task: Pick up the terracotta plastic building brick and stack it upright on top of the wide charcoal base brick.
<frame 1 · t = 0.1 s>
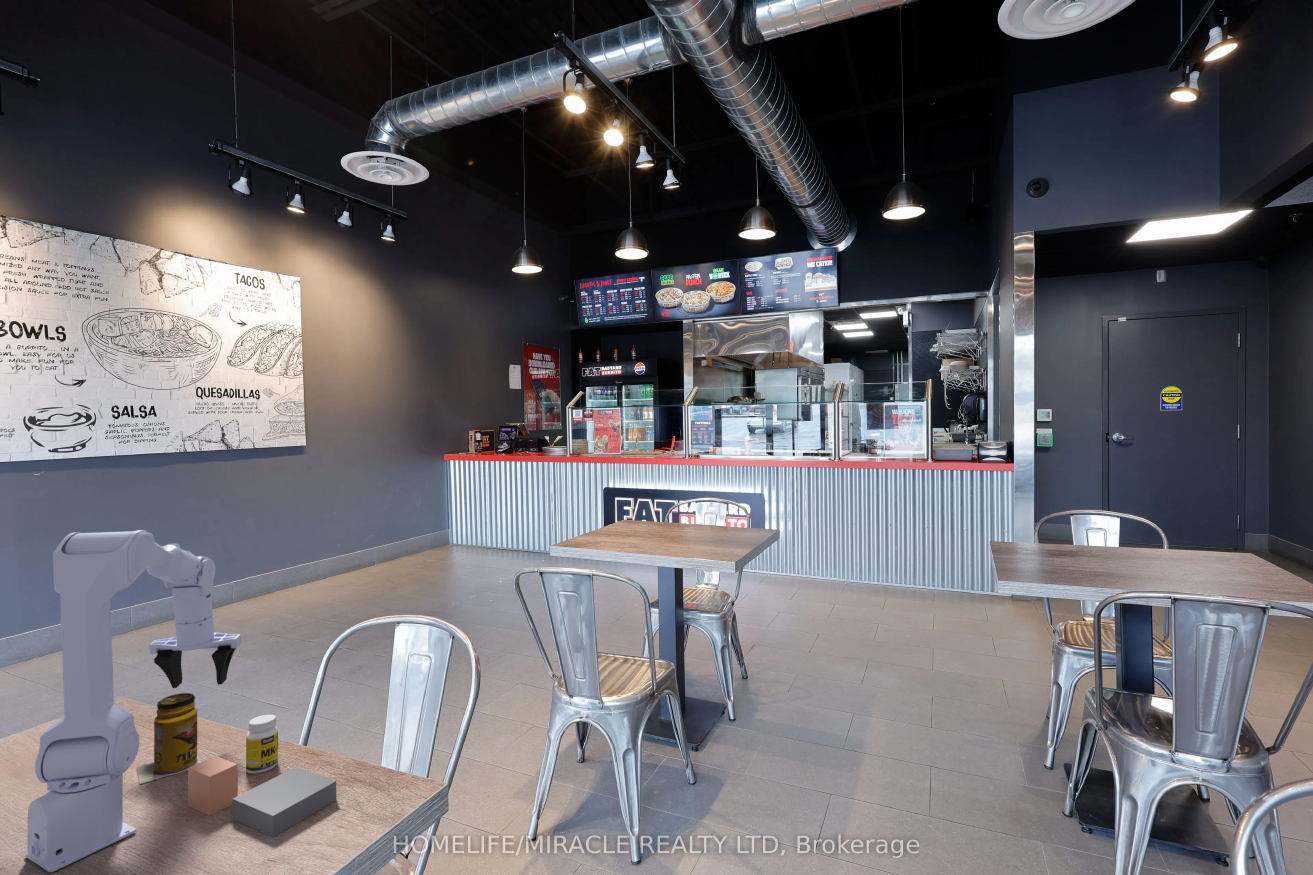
hand: (199, 683, 117), 11 cm above the table, tool pointing down, fingers open, 7 cm apart
supplement bottle: (262, 768, 106), on the table
condiment: (169, 768, 106), on the table
top brick: (212, 803, 95), on the table
base brick: (285, 808, 94), on the table
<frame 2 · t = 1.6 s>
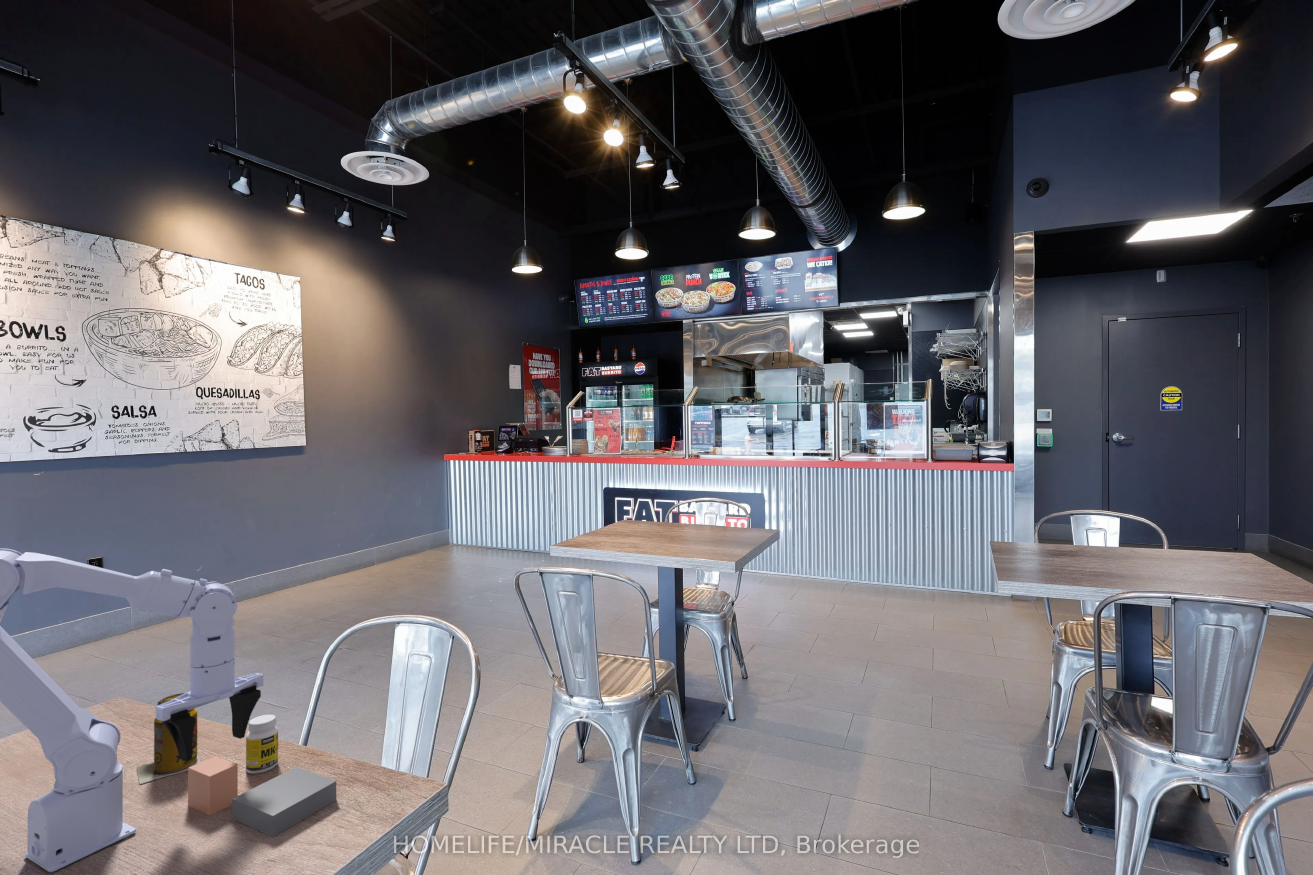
hand: (213, 747, 96), 9 cm above the table, tool pointing down, fingers open, 7 cm apart
nothing on the table moved.
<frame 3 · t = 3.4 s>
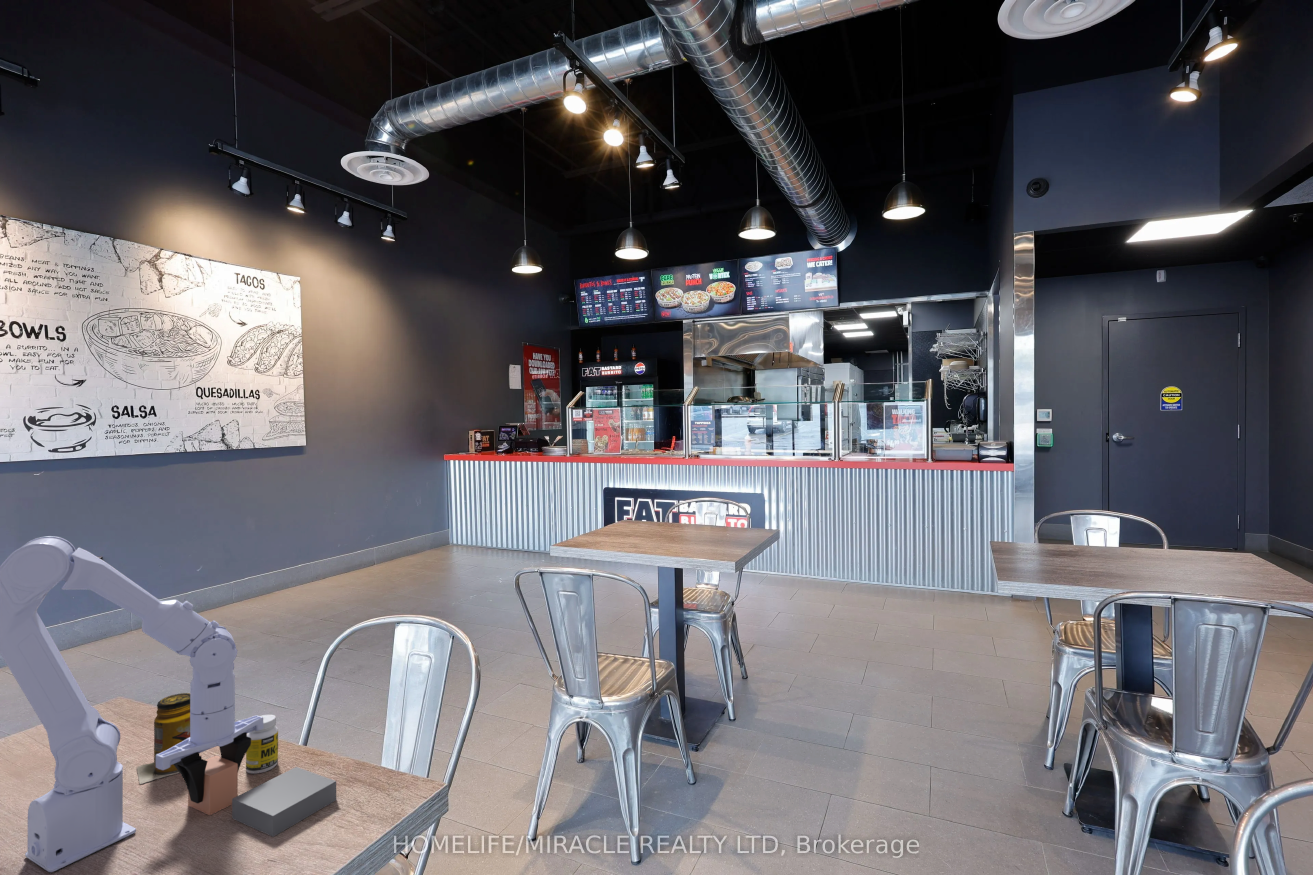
hand: (212, 792, 95), 2 cm above the table, tool pointing down, fingers closed on top brick, 4 cm apart
top brick: (213, 803, 95), on the table, touching gripper
everything else where it was.
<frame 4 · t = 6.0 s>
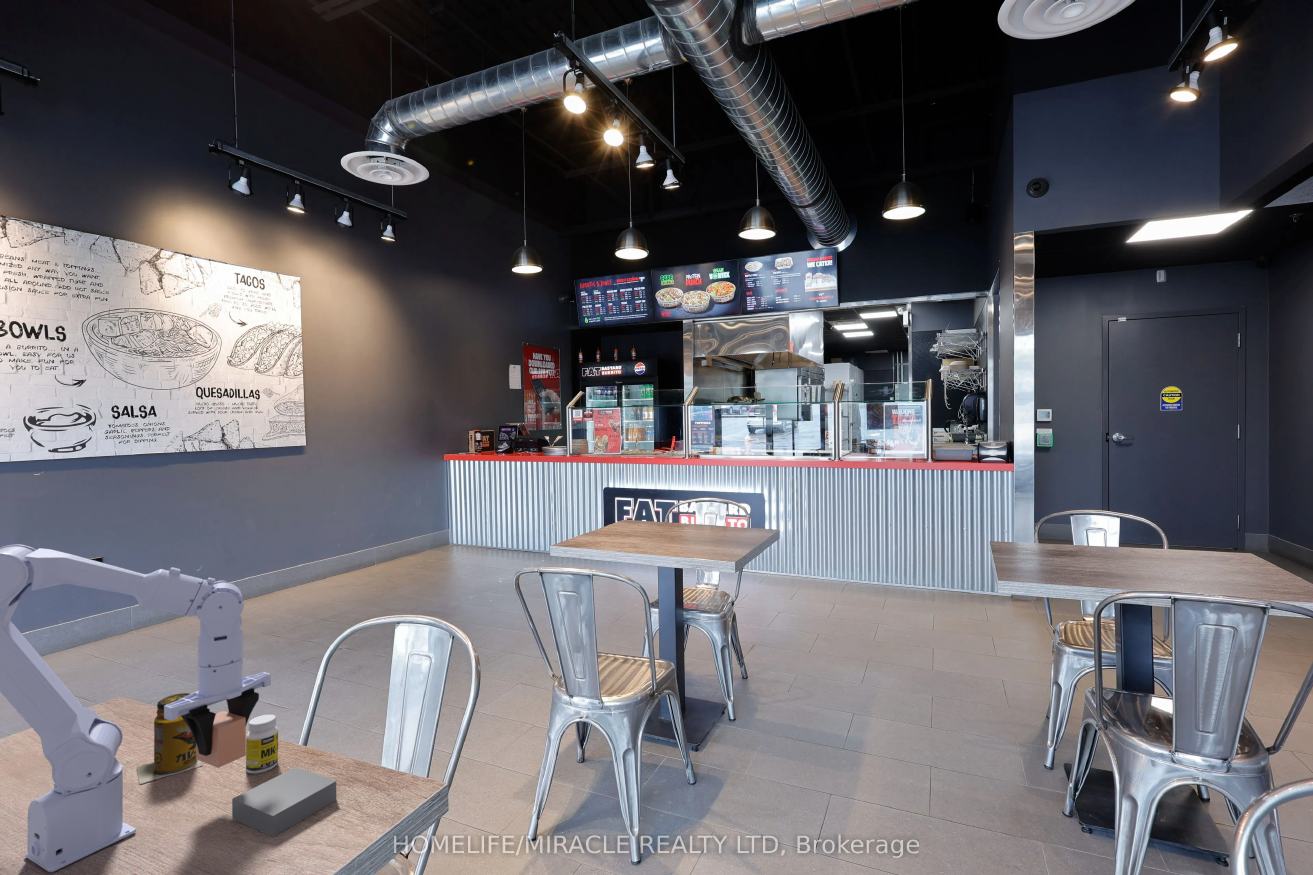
hand: (221, 746, 95), 9 cm above the table, tool pointing down, fingers closed on top brick, 4 cm apart
top brick: (221, 757, 95), point 7 cm above the table, touching gripper
everything else where it was.
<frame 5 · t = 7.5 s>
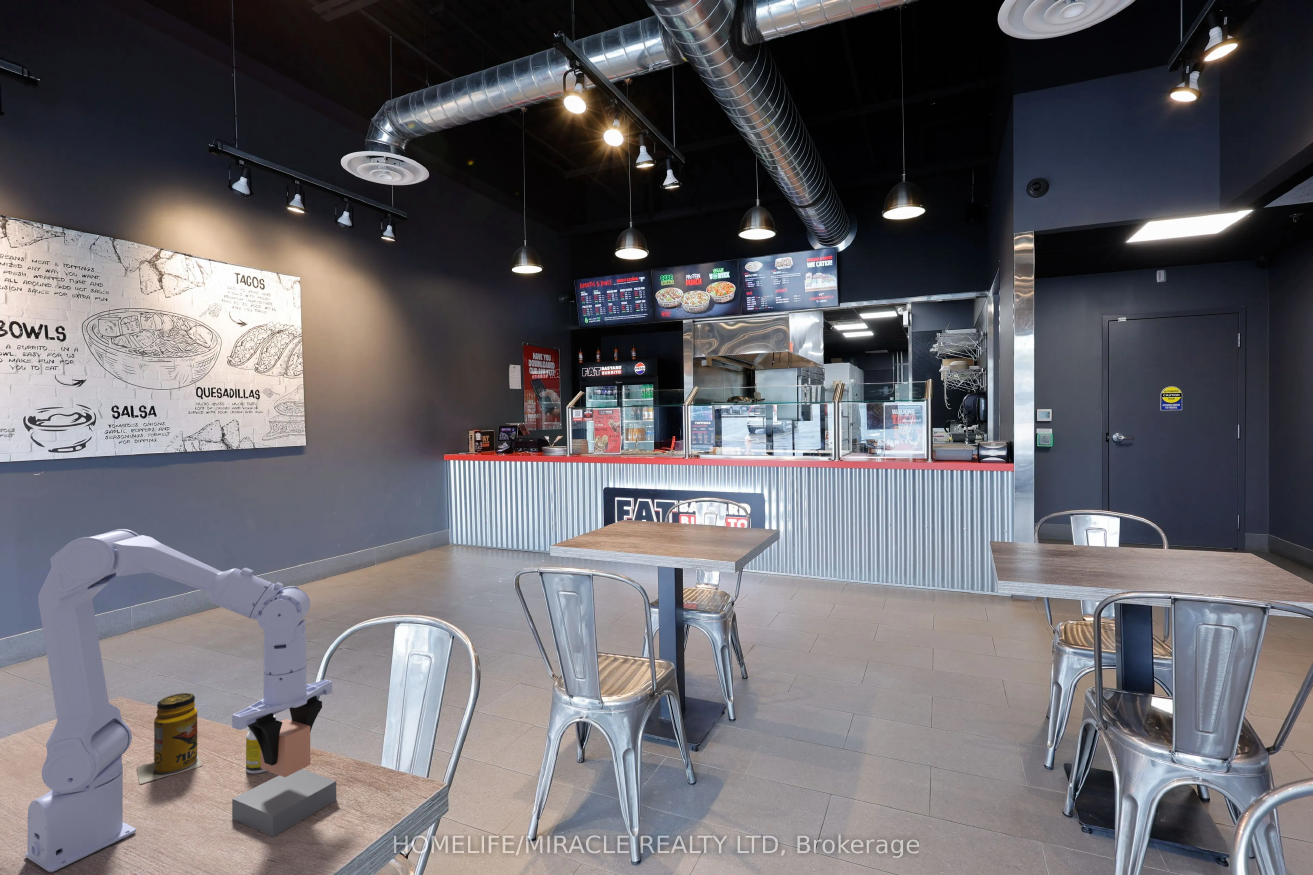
hand: (285, 755, 94), 8 cm above the table, tool pointing down, fingers closed on top brick, 4 cm apart
top brick: (285, 766, 94), point 7 cm above the table, touching gripper
everything else where it was.
when the fingers open (6 cm above the table, at t = 8.8 s): top brick stays where it is, resting on base brick.
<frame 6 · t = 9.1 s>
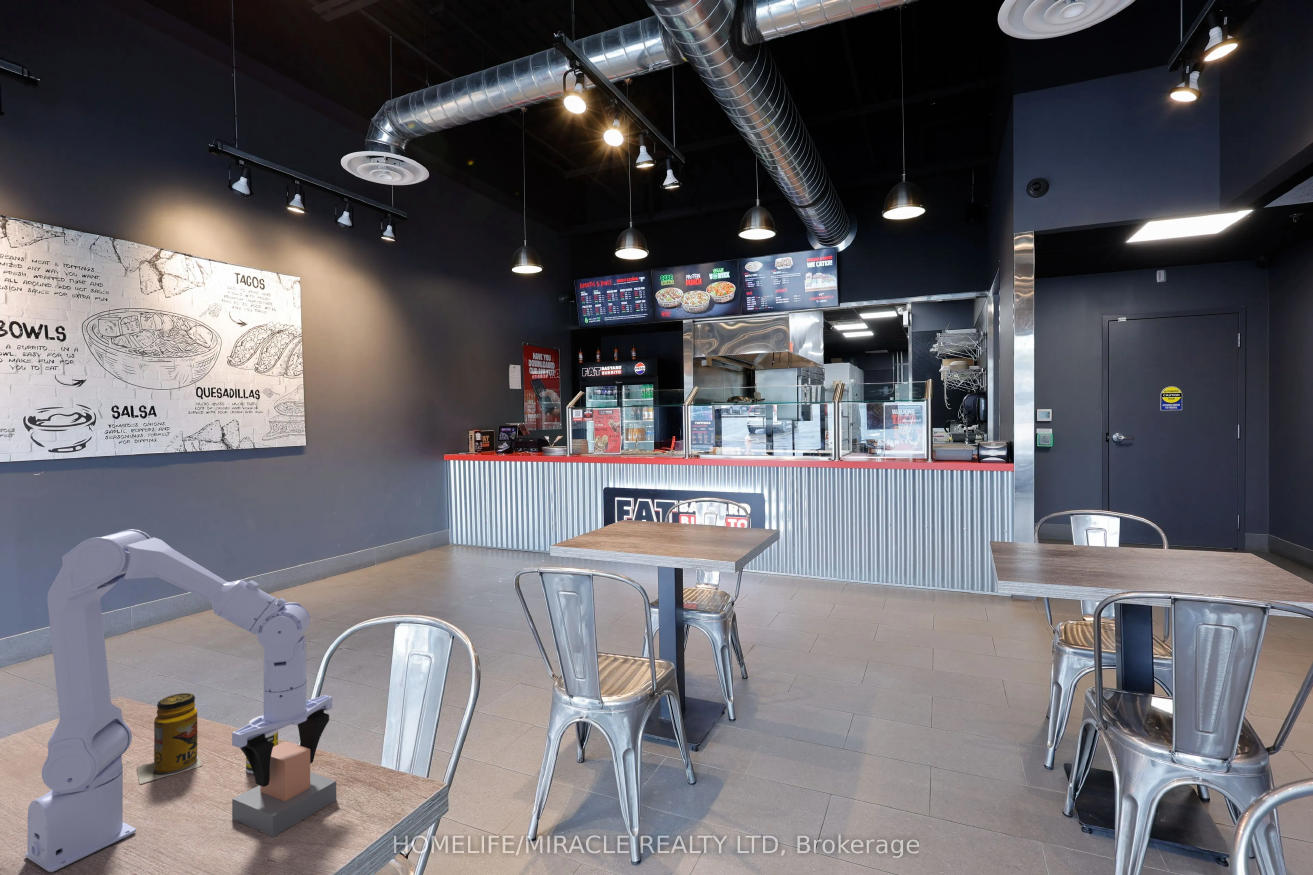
hand: (285, 772, 94), 6 cm above the table, tool pointing down, fingers open, 6 cm apart
top brick: (285, 789, 94), point 3 cm above the table, touching base brick
everything else where it was.
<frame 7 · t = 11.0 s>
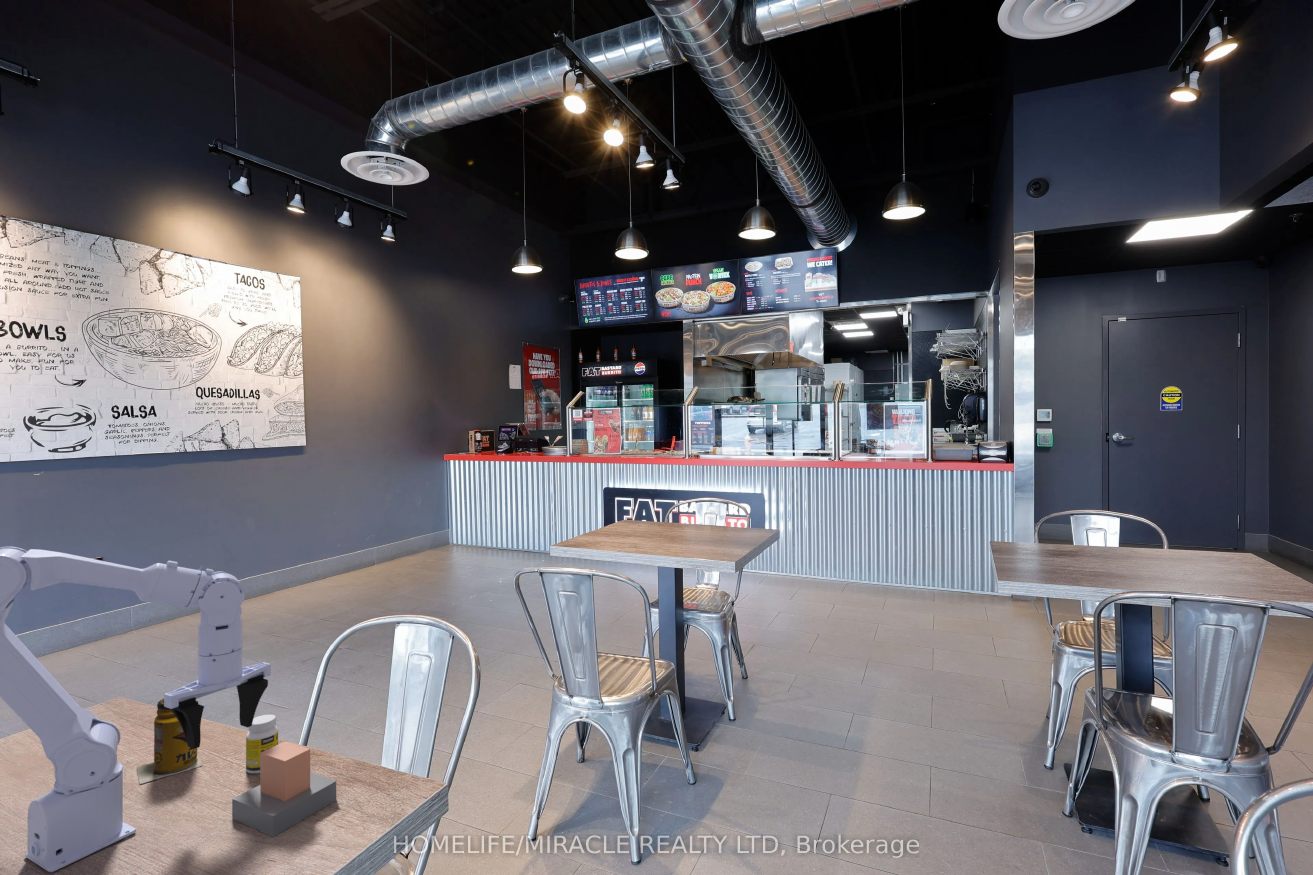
hand: (220, 735, 96), 10 cm above the table, tool pointing down, fingers open, 7 cm apart
nothing on the table moved.
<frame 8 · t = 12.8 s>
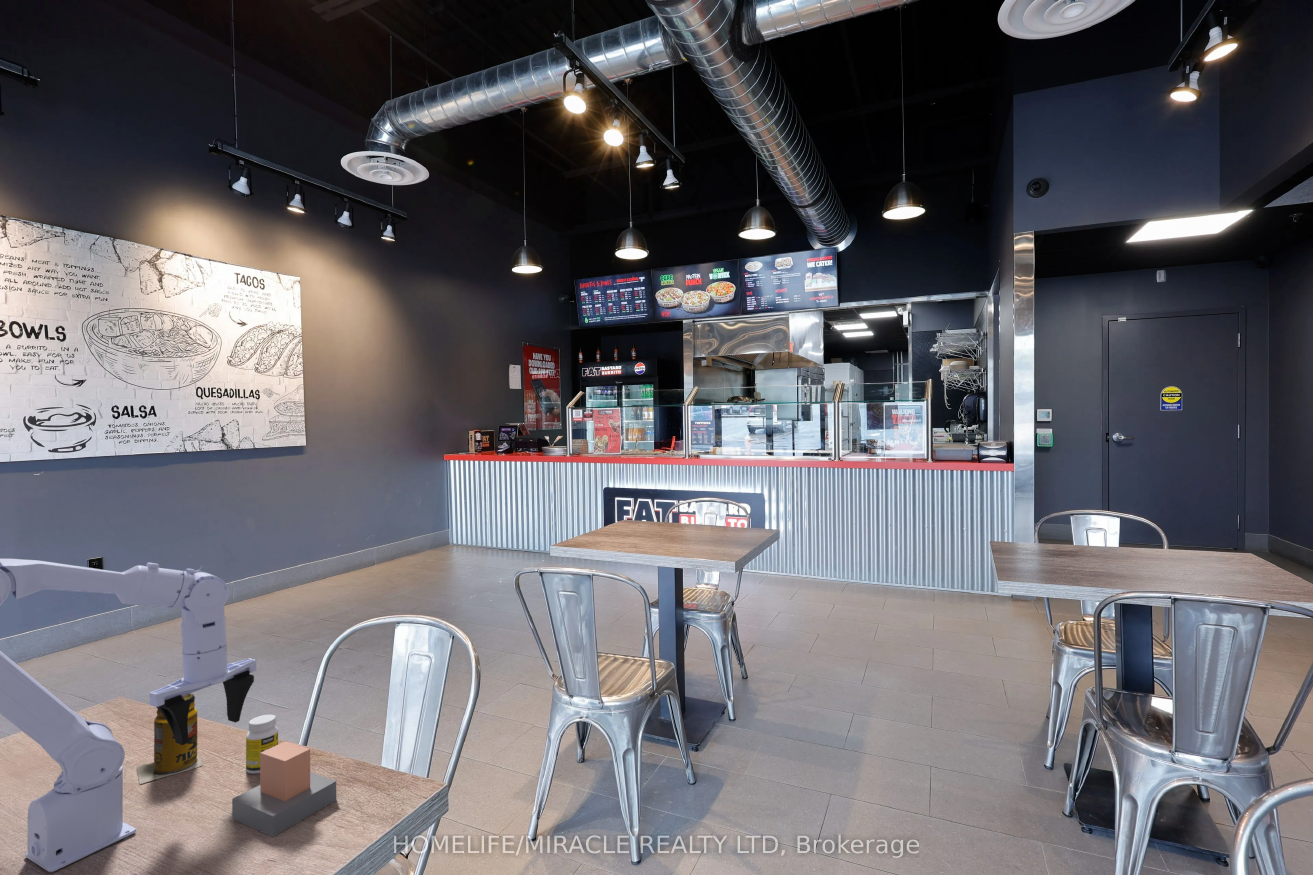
hand: (208, 731, 98), 10 cm above the table, tool pointing down, fingers open, 7 cm apart
nothing on the table moved.
at the end: top brick 0.0 cm off-centre on the base brick, point 3.0 cm above the base brick's base; top brick tilted 0°; the gripper is holding nothing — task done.
